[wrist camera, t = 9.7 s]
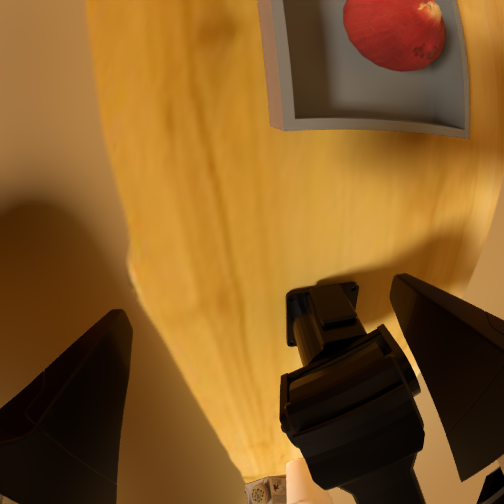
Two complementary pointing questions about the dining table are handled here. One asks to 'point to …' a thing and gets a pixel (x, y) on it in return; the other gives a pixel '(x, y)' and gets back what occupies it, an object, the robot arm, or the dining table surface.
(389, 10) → the onion
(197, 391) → the dining table surface
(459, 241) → the dining table surface
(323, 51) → the bin
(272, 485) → the coffee box
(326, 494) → the foam cup
